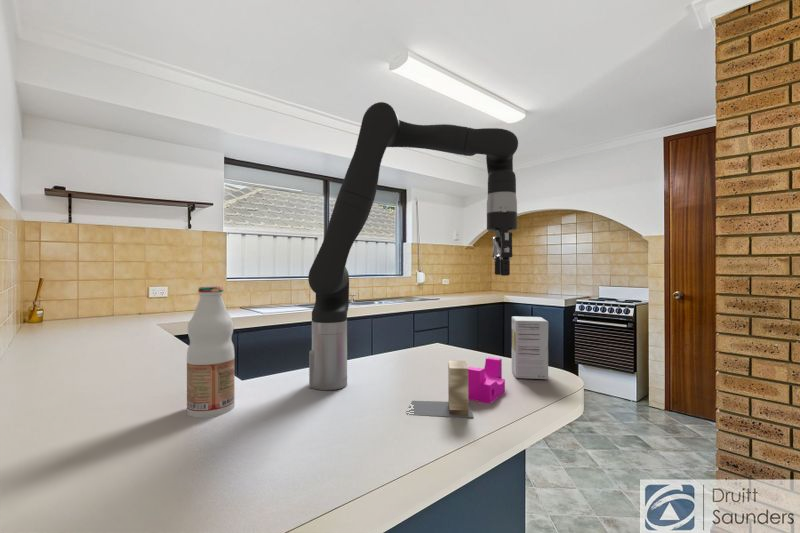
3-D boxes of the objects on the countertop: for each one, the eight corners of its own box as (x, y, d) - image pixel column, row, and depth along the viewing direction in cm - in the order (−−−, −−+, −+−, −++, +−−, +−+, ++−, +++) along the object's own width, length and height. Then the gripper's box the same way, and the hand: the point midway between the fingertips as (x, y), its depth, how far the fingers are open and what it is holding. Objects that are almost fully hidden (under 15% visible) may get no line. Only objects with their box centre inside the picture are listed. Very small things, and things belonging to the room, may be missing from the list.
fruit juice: (185, 426, 79) (185, 288, 79) (187, 411, 87) (187, 286, 87) (235, 418, 83) (235, 287, 83) (233, 404, 92) (233, 285, 92)
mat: (398, 416, 84) (398, 414, 84) (402, 401, 93) (402, 400, 93) (473, 418, 83) (473, 416, 83) (469, 403, 92) (469, 402, 92)
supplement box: (511, 369, 122) (510, 315, 122) (541, 370, 121) (541, 316, 121) (515, 378, 112) (515, 320, 112) (549, 379, 111) (549, 320, 111)
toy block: (489, 404, 92) (489, 372, 92) (465, 399, 95) (465, 368, 95) (510, 388, 104) (510, 359, 104) (488, 384, 108) (488, 357, 108)
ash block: (449, 414, 84) (449, 368, 84) (448, 403, 91) (448, 360, 91) (468, 414, 84) (468, 368, 84) (465, 403, 91) (465, 360, 91)
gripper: (483, 215, 107) (483, 274, 107) (490, 207, 93) (491, 275, 93) (511, 215, 106) (511, 274, 106) (523, 207, 92) (523, 275, 92)
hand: (501, 275), depth 100 cm, fingers open, 8 cm apart
